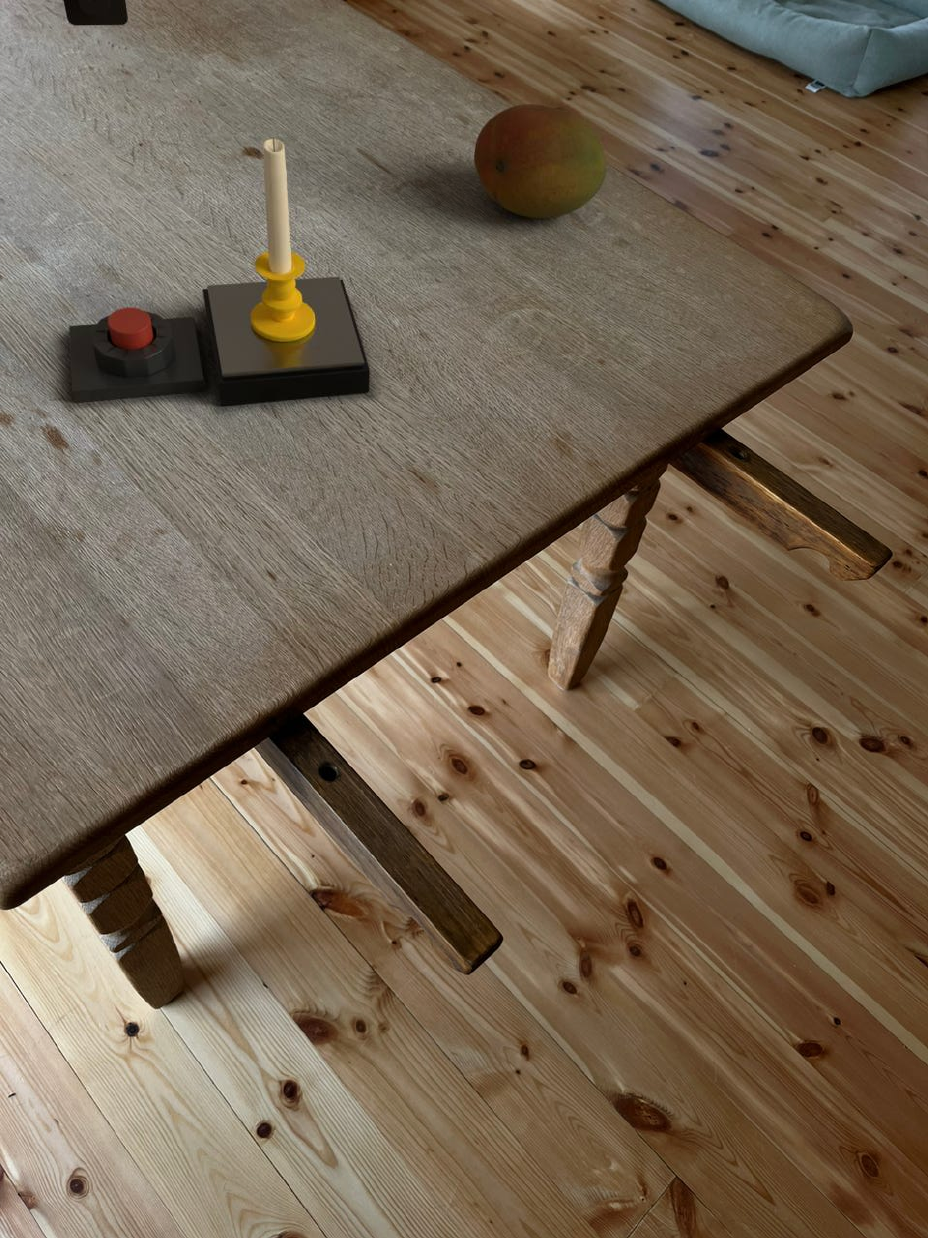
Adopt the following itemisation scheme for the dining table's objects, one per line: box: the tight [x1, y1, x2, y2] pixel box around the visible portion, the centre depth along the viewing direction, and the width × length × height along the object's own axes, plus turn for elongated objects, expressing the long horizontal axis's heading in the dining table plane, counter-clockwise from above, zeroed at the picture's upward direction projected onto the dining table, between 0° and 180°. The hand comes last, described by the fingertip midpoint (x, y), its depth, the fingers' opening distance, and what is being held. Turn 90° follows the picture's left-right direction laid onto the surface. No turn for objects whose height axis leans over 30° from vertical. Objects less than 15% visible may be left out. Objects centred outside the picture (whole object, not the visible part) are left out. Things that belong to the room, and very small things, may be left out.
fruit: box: [473, 103, 607, 219], centre depth 98 cm, size 12×13×10 cm
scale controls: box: [68, 310, 206, 404], centre depth 81 cm, size 10×8×3 cm
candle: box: [250, 136, 315, 342], centre depth 76 cm, size 5×5×16 cm
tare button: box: [108, 307, 153, 350], centre depth 79 cm, size 3×3×2 cm
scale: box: [201, 276, 371, 407], centre depth 84 cm, size 12×12×3 cm
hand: (98, 17), depth 56 cm, fingers closed
